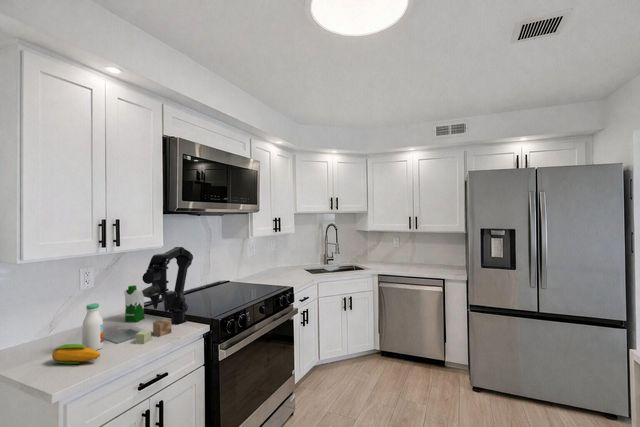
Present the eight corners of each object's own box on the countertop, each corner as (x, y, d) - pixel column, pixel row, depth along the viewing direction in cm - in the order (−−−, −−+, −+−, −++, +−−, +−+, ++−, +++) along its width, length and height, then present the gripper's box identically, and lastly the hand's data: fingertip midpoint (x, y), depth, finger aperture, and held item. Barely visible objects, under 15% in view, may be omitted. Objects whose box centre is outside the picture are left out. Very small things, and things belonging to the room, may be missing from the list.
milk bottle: (96, 352, 141) (96, 306, 141) (78, 352, 140) (77, 307, 140) (107, 345, 149) (106, 301, 149) (89, 345, 148) (89, 302, 148)
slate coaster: (129, 330, 168) (129, 329, 168) (144, 334, 161) (144, 333, 161) (102, 338, 157) (102, 337, 157) (117, 343, 150) (117, 342, 150)
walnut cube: (164, 330, 167) (164, 319, 167) (171, 332, 164) (171, 321, 164) (153, 334, 162) (153, 322, 162) (160, 336, 159) (160, 324, 159)
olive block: (142, 339, 155) (142, 330, 155) (150, 340, 154) (150, 331, 154) (135, 343, 150) (135, 334, 150) (144, 344, 150) (144, 334, 150)
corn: (61, 339, 136) (106, 340, 134) (63, 357, 136) (107, 358, 135) (45, 348, 128) (93, 349, 127) (47, 366, 129) (94, 367, 127)
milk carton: (122, 322, 180) (122, 287, 180) (133, 317, 189) (133, 283, 189) (137, 323, 179) (136, 287, 179) (147, 317, 188) (147, 283, 188)
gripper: (134, 280, 160) (134, 311, 161) (155, 284, 151) (156, 317, 151) (155, 276, 170) (155, 305, 170) (177, 280, 160) (177, 311, 160)
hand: (160, 310), depth 163 cm, fingers open, 9 cm apart
